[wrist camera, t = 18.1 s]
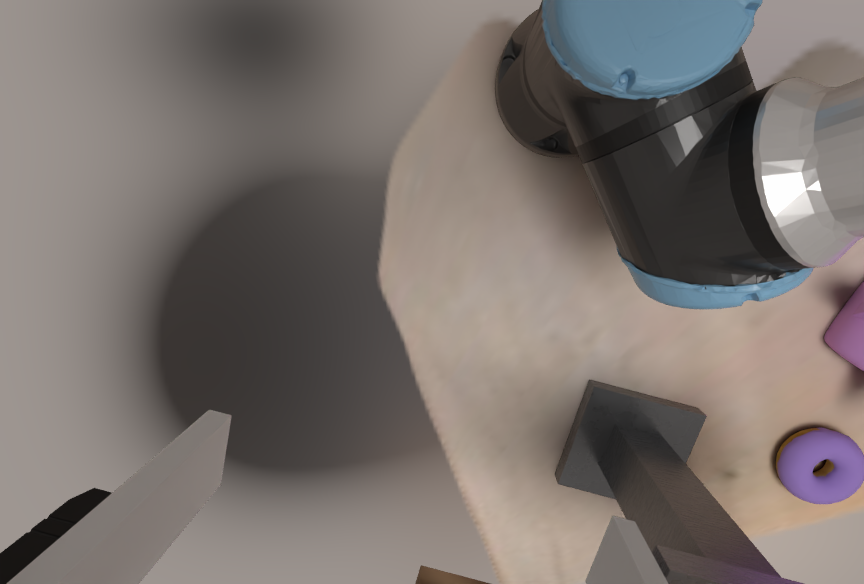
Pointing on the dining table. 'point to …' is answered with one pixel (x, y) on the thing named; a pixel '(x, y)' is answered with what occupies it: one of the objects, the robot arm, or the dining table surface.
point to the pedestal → (659, 485)
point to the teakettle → (849, 330)
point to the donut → (833, 479)
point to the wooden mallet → (442, 577)
